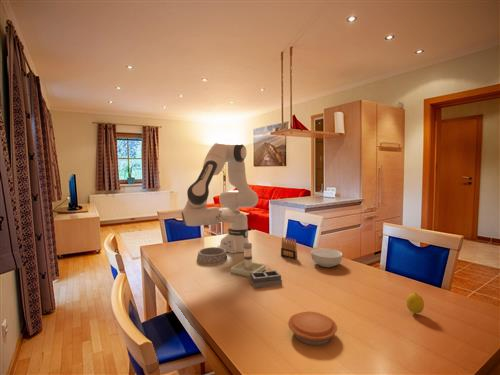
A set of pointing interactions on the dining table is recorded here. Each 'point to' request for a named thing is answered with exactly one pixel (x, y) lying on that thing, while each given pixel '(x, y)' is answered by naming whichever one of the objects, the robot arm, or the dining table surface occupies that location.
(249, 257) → the fuse
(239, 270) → the tray
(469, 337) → the dining table surface
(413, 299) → the lemon
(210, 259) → the dog bowl
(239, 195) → the robot arm
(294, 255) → the ammunition clip
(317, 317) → the pie
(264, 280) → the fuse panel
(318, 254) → the cereal bowl
